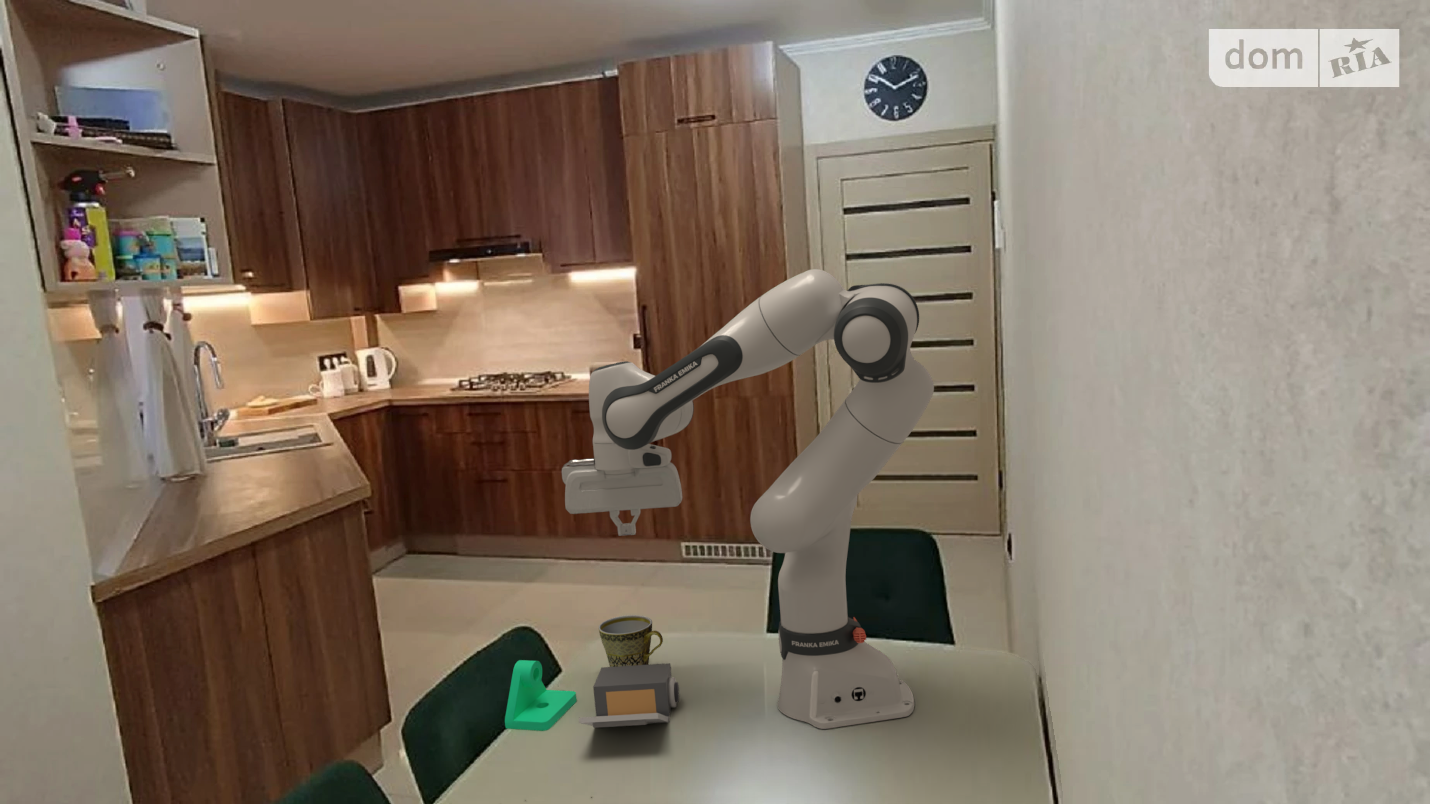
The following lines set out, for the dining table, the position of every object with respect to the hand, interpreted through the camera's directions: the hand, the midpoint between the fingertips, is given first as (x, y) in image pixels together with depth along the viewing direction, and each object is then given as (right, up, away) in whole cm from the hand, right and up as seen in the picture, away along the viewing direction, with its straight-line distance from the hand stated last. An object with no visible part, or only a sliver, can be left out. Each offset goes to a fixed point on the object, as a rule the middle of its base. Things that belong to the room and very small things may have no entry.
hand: (627, 534), depth 160 cm
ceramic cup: (+1, -28, +11) cm, 30 cm away
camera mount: (-14, -31, -3) cm, 34 cm away
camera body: (+2, -30, -5) cm, 30 cm away
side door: (+2, -29, -10) cm, 31 cm away
